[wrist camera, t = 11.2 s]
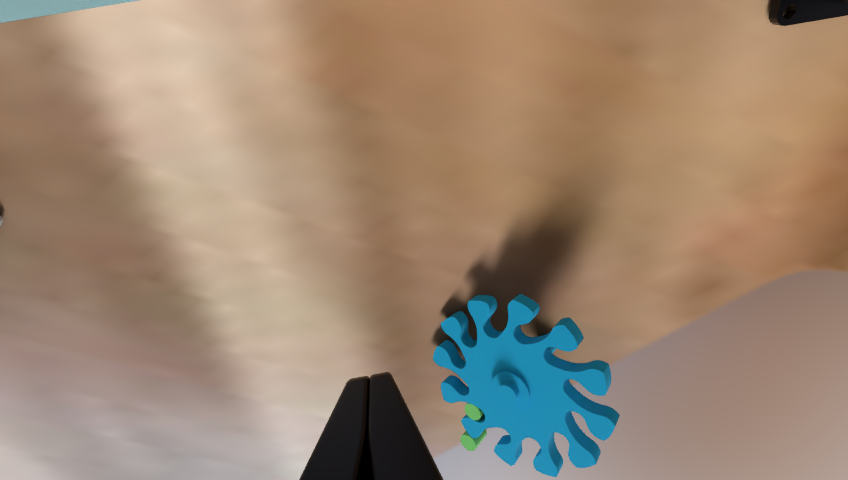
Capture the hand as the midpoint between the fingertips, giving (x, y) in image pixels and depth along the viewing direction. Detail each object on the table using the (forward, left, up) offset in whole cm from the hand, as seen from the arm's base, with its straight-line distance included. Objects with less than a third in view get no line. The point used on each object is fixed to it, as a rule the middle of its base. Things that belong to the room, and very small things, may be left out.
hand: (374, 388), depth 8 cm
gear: (-5, +13, -12) cm, 18 cm away
